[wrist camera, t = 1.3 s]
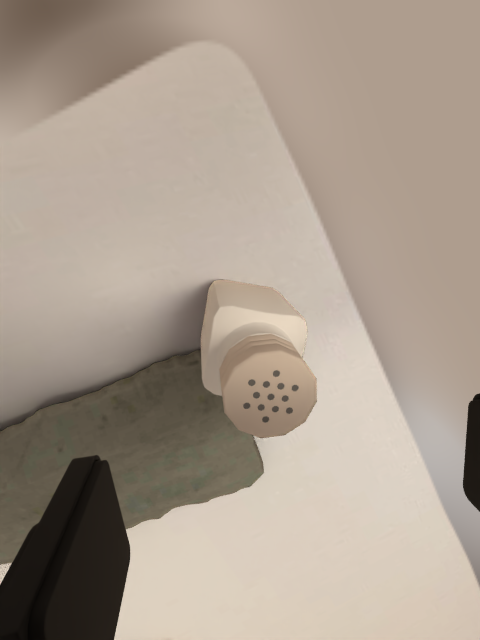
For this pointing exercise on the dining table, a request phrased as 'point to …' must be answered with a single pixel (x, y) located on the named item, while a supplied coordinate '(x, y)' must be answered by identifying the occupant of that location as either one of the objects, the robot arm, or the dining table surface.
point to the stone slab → (128, 448)
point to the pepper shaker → (256, 358)
